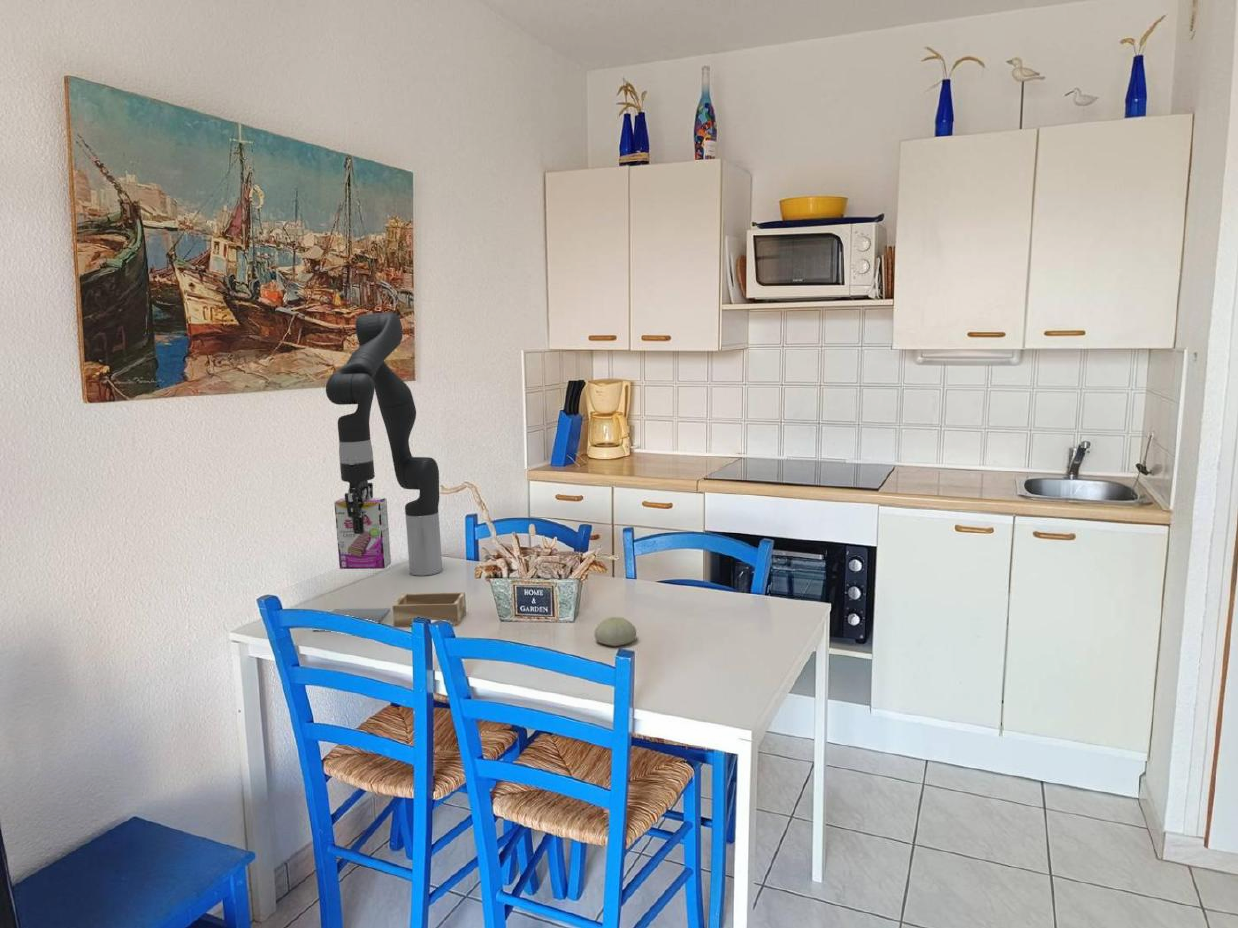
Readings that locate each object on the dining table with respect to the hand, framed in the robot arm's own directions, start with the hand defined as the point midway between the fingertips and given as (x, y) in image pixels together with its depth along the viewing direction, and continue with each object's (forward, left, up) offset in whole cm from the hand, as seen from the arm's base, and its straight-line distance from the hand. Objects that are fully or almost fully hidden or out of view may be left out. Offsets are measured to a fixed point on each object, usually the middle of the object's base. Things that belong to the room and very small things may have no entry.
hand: (362, 530), depth 203 cm
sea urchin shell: (+16, +60, -23) cm, 66 cm away
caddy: (0, +15, -22) cm, 27 cm away
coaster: (0, -4, -22) cm, 23 cm away
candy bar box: (0, 0, -9) cm, 9 cm away
